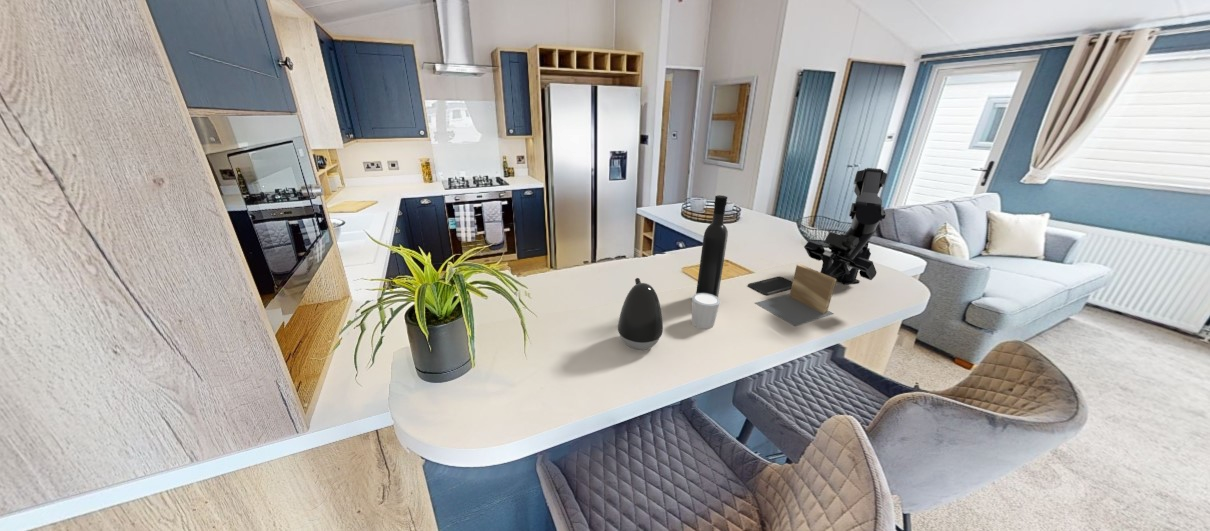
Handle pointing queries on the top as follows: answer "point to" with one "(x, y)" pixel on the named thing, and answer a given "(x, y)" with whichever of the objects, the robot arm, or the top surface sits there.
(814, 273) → the oak block
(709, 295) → the white short tapered cylinder
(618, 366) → the top surface
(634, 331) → the black egg shape
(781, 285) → the phone
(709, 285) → the wine bottle
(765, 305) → the charcoal mat
